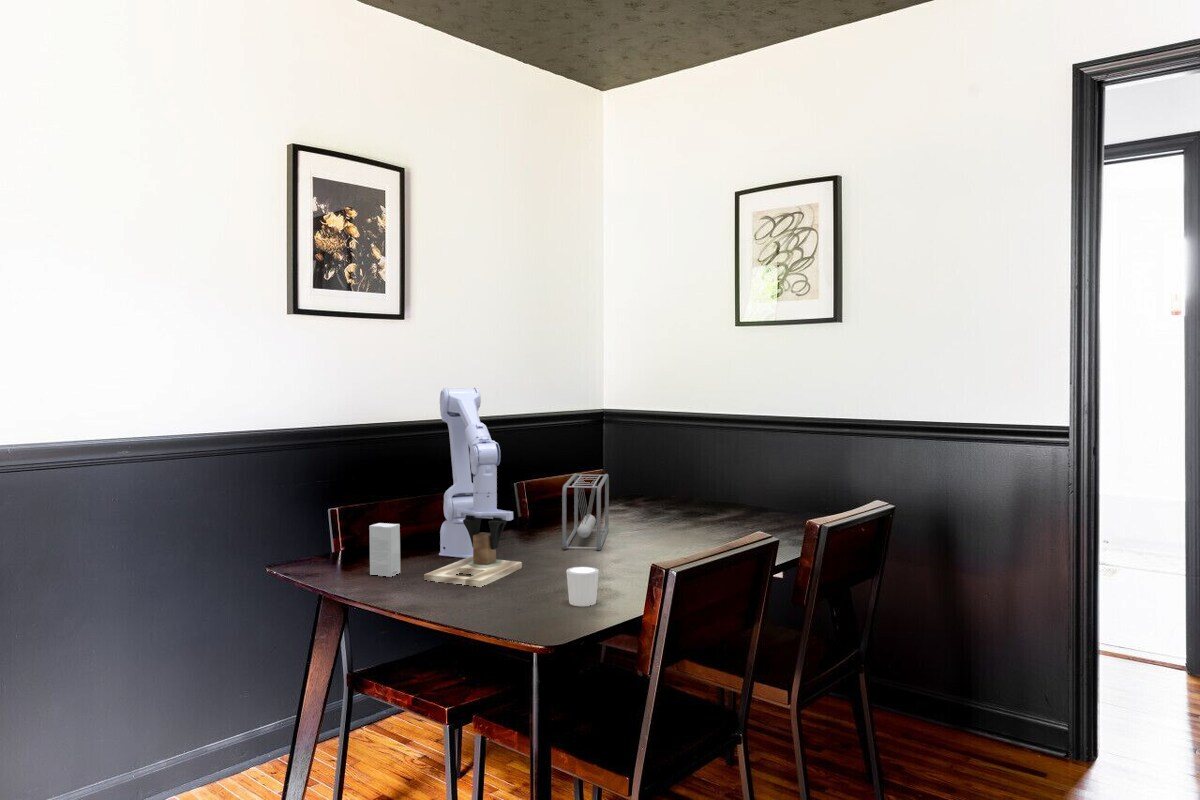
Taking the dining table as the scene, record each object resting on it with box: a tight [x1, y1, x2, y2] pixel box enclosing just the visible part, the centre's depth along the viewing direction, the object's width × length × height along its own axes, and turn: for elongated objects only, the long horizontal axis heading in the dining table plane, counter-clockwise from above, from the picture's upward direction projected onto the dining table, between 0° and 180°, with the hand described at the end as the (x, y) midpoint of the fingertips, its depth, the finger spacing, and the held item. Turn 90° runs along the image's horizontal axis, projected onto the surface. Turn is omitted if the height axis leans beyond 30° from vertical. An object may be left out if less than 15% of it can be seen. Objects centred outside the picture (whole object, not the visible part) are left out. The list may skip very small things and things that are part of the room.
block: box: [473, 531, 497, 565], centre depth 208 cm, size 4×4×7 cm
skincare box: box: [368, 522, 401, 578], centre depth 203 cm, size 6×4×12 cm
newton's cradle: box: [561, 472, 610, 551], centre depth 244 cm, size 30×10×18 cm, turn 175°
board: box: [423, 557, 523, 588], centre depth 203 cm, size 15×20×2 cm
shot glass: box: [566, 566, 600, 607], centre depth 179 cm, size 7×7×7 cm
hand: (485, 547), depth 208 cm, fingers open, 5 cm apart
